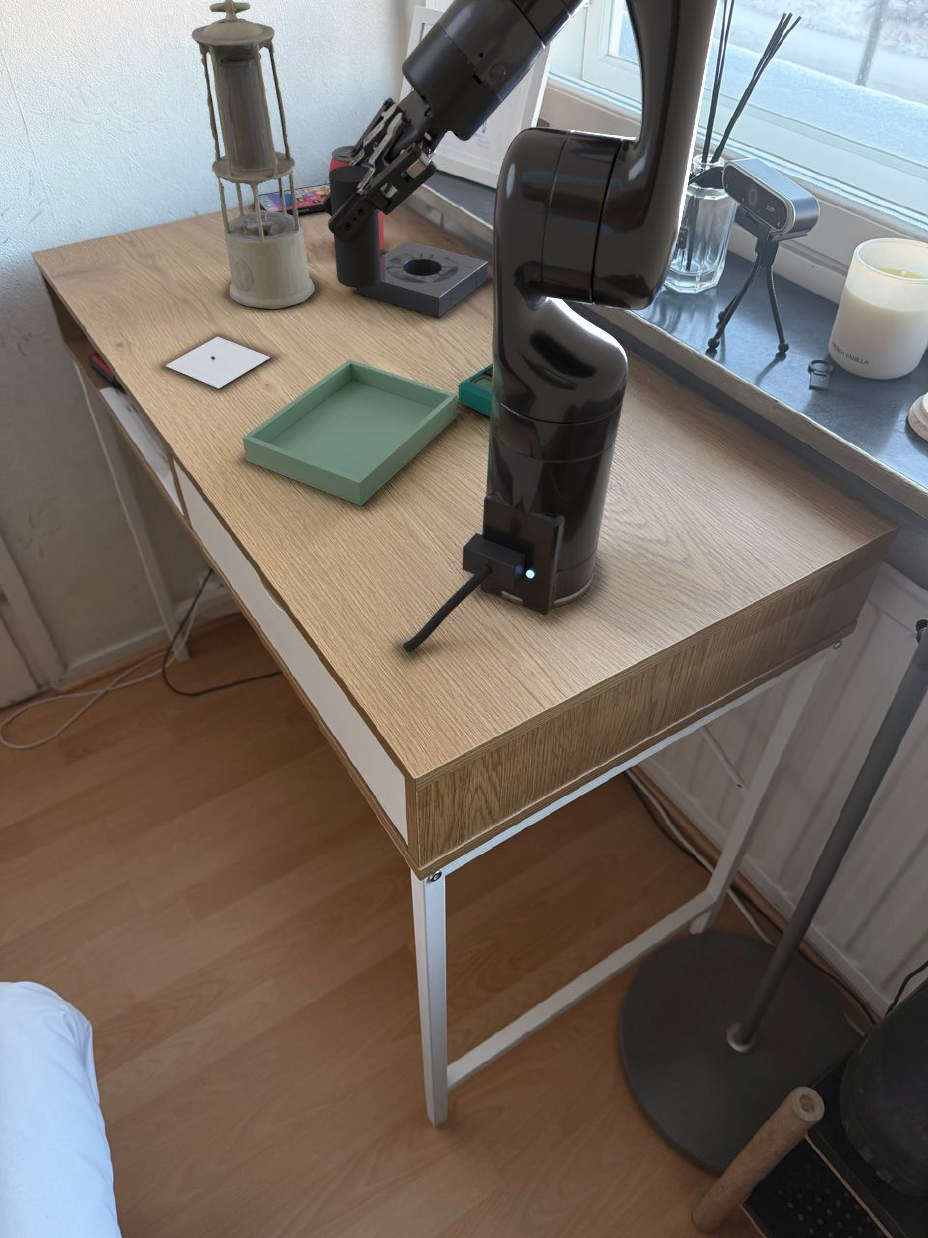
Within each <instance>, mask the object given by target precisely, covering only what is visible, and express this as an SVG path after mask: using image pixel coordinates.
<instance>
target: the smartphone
mask: <svg viewBox="0 0 928 1238" xmlns="http://www.w3.org/2000/svg"><path fill="white" fill-rule="evenodd" d="M294 189H295V195H296V203H297V211H298V215H300V214H307V213H313V212H318V211H325V210H324V208H323V204H322V202H323V200H324V199H325V198H326V196H327V195H328V194H329V193H330V182H329V183H324V184H317V185H311V186H304V187H298V188H294ZM283 191H284V197H285V208H286V213H287V214H289V215H292V216H293V209H292V199H291V191H290V189H287V190H283ZM258 196H259V204H260V210H265V211H273V212H282V207H281V198H280V191H279V190H278V191H274V192H268V193H267V192H266V193H262V194H258ZM253 203H254V204H255V201H254V200H253Z"/></svg>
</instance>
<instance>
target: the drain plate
mask: <svg viewBox="0 0 928 1238" xmlns="http://www.w3.org/2000/svg"><path fill="white" fill-rule="evenodd" d="M380 261H381V281H380V282H379V283H378V284H376V285H374V286H371V287H366V288H355V292H356V294H358V295H362V296H365V297H369V298H371V299H375V300H377V301H381V302H385V303H387V304H392V305H396V306H399V307H401V308H405V309H408V310H411V311H415V312H419V313H421V314H425V315H429V316H432V317H436V318H437V319H438V318H440V317H442V316H443V315H444V314H446V313H447V312H448V311H450V310H451V309H453V308H454V307H455V306H456V305H457V304H459V303H460V302H462V301H463V300H464V299H465V298H467V297H468V296H469V295H470V294H472V293H473V292H475V290H477V289H478V288H479V287H481V286H482V285H483V284H484V283H485V282H487V281H488V267H489V262H488V260H484V259H480V258H476V257H473V256H469V255H465V254H461V253H458V252H455V251H450V250H447V249H444V248H443V249H442V248H440V247H439V248H438V247H435V246H431V245H428V244H424V243H420V242H417V241H413V240H410V239H406V240H405V241H404V242H402V243H401V244H399V245H398V246H396V247H395V248H392V249H391V250H390V251H388V252H386V253H385V254H383V255H381V256H380Z"/></svg>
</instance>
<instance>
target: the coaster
mask: <svg viewBox="0 0 928 1238" xmlns="http://www.w3.org/2000/svg"><path fill="white" fill-rule="evenodd" d="M270 358H271V357H270V356H268V355H266V354H263V353H260V352H258V351H256V350H253V349H250V348H248V347H245V346H243V345H240V344H237V343H235V342H233V341H230V340H229V339H228V340H227V339H225V338H222V337H220V336H216V337H213V339H211V340H209V341H207V342H205V343H203V344H202V345H200V346H197V347H196V348H195V349H192V350H190V351H189V352H187V353H186V354H184V355H182V356H179V357H178V358H176V359H175V360H173V361H171V362H169V363H167V364H166V365H164V367H167V368H169V369H171V370H174V371H176V372H179V373H181V374H183V375H186V376H188V377H191V378H193V379H195V380H196V381H197V380H198V381H200V382H203V383H204V384H207V385H209V386H212V387H213V388H216V389H221V388H222V387H224V386H225V385H227V384H229V383H230V382H232V381H234V380H235V379H237V378H239V377H241V376H242V375H244V374H245V373H247V372H249V371H250V370H252V369H254V368H256V367H258V366H259V365H261V364H262V363H264V362H265V361H267V360H269V359H270Z"/></svg>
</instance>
